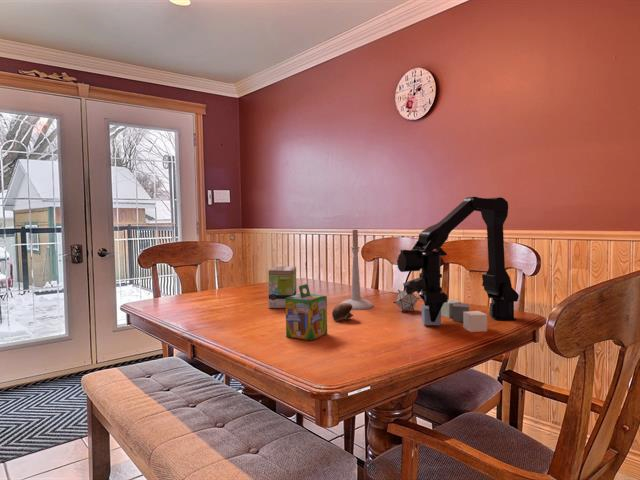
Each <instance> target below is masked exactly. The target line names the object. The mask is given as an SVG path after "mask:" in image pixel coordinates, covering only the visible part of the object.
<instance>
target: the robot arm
mask: <svg viewBox="0 0 640 480" xmlns="http://www.w3.org/2000/svg"><path fill="white" fill-rule="evenodd" d="M475 211H476V212H480V214H481V219H482V220H483V222H484V223H485V225H486V234H487V257H488V258H487V261H488V263H487V264H488V270H487V271H486V272H485V273H482V275H481V278H482V285H481V286H482V287H483V290H484V291H485V292H486V294H487V298H488V299H491V300H490V301H491V302H490V303H489V317H491V318H492V319H493V320H495V321H516V320H517V318H516V317H515V302H518V301H519V297H520V295H519V294H518V292H517V291H516V290H515V289H514V287H512V282H511V281H512V280H511V277H510V275H509V273H508V272H507V270H506V264H505V263H506V261H505V239H504V236H505V235H504V224H505V222H506V220H507V219H508V213H509V202H508V201H507V200H506V199H505V198H504V197H501V196H500V197H489V198H485V197H478V196H468V197H466V198H464V199H463V200H462V202H460V203H459V204H458V205H457V206H456V207H455V208H454V209H452V210H451V211H450V212H449V213H448V214H447V215H446V216H445V217H443V218H442V219H441V220H440V221H439V222H437V223H435V224H433V225H431V226H428V227H427V228H425V229H423V230H422V231H421V232H420V233H419V234H418V239H417V241H416V242H415V243H414V244H413V245H414V246H413V247H412V248H411V249H400V253H399V254H398V257H397V260H396V265H397V269H398V270H399V272H401V273H406V272H407V273H408V272H420V271H421V272H420V273H419V276H418V277H417V278H414V279H411V280H408V281H406V282H403V283H402V285H403V288H404V291H406V293H407V294H408V295H410V294H412V293H413V294H414V293H417V294H418V297H419V298H420V299H422V301H423V303H424V306H428V308H429V313H430V319H431V322H435V320H436V318H437V316H438V314H439V312H440V310H441V308H442V306H443V304H444V303H445V302H448V300H449V299H448V298H449V296H448V295H447V294H446V293H445V292H444V291H443V287H442V286H441V279H442V278H443V274H442V273H441V257H443V256H447V255H448V253H447V252H446V251H444V250H443V248H442V246H443V245H444V244H445V242H446V241H447V240H448V238H449V235H450V234H451V233H452V231H453V230H455V228H457V227H458V226H459V225H460V224H461V223H462V222H464V221H465V219H467V218H468V217H469V216H470V215H471V214H473V213H474V212H475Z"/></svg>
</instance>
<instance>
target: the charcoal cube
mask: <svg viewBox="0 0 640 480" xmlns="http://www.w3.org/2000/svg"><path fill="white" fill-rule="evenodd" d="M468 311H470V303H462V302H461V303H453V318H452V322H459V323H460V322H461V323H463V312H468Z"/></svg>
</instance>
